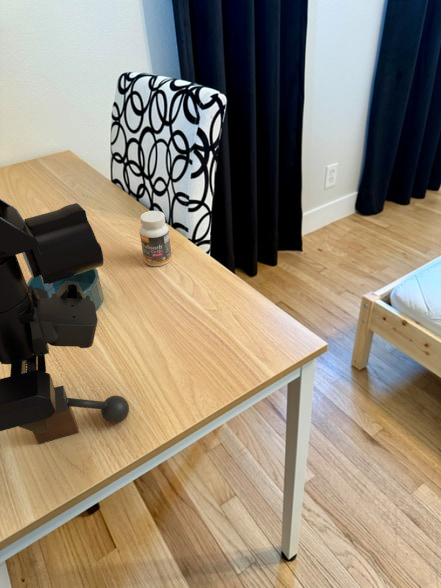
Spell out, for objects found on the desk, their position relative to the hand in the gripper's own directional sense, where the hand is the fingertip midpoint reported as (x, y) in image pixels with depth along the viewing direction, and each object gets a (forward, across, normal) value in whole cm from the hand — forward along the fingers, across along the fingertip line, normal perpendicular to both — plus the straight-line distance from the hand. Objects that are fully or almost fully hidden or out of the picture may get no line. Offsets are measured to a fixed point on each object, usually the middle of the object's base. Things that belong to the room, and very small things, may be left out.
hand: (42, 399), depth 51 cm
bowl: (+7, +28, -3) cm, 29 cm away
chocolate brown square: (+7, 0, 0) cm, 7 cm away
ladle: (+7, 0, -4) cm, 8 cm away
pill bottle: (+7, +36, -21) cm, 42 cm away
